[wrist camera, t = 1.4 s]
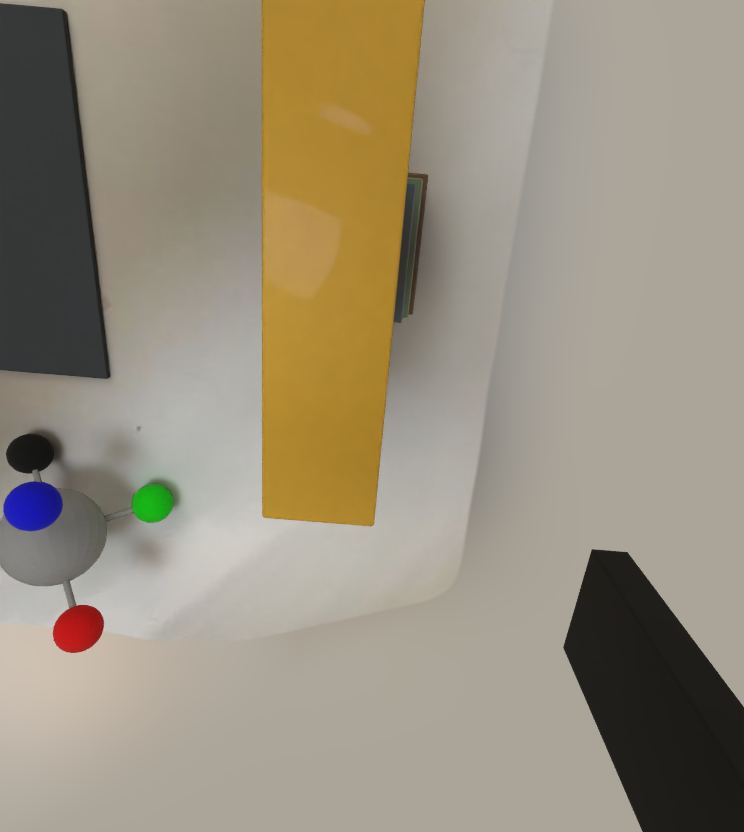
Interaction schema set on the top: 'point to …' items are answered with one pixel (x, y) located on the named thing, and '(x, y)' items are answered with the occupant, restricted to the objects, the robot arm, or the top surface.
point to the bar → (331, 244)
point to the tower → (410, 245)
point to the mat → (44, 205)
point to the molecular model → (61, 536)
